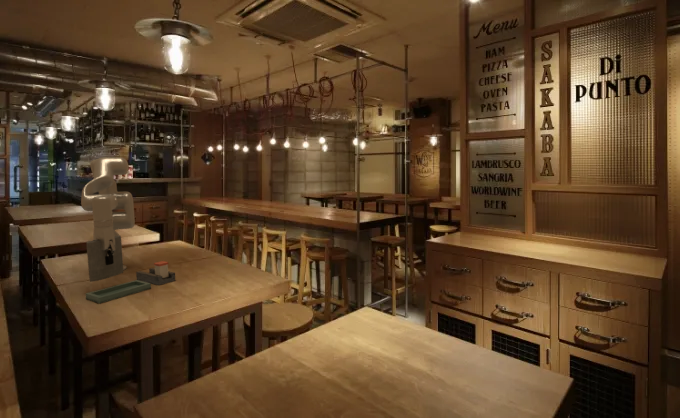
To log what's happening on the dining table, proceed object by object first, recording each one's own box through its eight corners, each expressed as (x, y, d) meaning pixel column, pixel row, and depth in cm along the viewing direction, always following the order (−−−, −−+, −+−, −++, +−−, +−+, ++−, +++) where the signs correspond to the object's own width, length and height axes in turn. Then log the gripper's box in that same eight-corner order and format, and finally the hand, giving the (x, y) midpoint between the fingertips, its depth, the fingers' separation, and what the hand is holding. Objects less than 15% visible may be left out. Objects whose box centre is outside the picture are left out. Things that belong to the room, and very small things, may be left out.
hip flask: (120, 271, 191) (117, 230, 188) (126, 272, 190) (123, 230, 187) (88, 281, 177) (84, 236, 174) (94, 282, 175) (90, 237, 172)
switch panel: (136, 279, 200) (136, 271, 199) (153, 275, 207) (152, 267, 207) (158, 285, 190) (158, 277, 190) (175, 280, 198) (174, 272, 198)
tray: (85, 299, 172) (85, 293, 171) (137, 285, 191) (136, 279, 191) (99, 303, 166) (99, 297, 166) (151, 288, 185) (150, 283, 185)
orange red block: (154, 277, 195) (153, 263, 194) (163, 275, 199) (162, 261, 198) (160, 278, 193) (159, 264, 192) (169, 276, 197) (168, 262, 196)
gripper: (84, 223, 181) (88, 262, 184) (105, 226, 172) (108, 268, 175) (101, 220, 187) (105, 259, 190) (122, 224, 179) (125, 264, 181)
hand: (106, 263), depth 182 cm, fingers closed on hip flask, 4 cm apart
